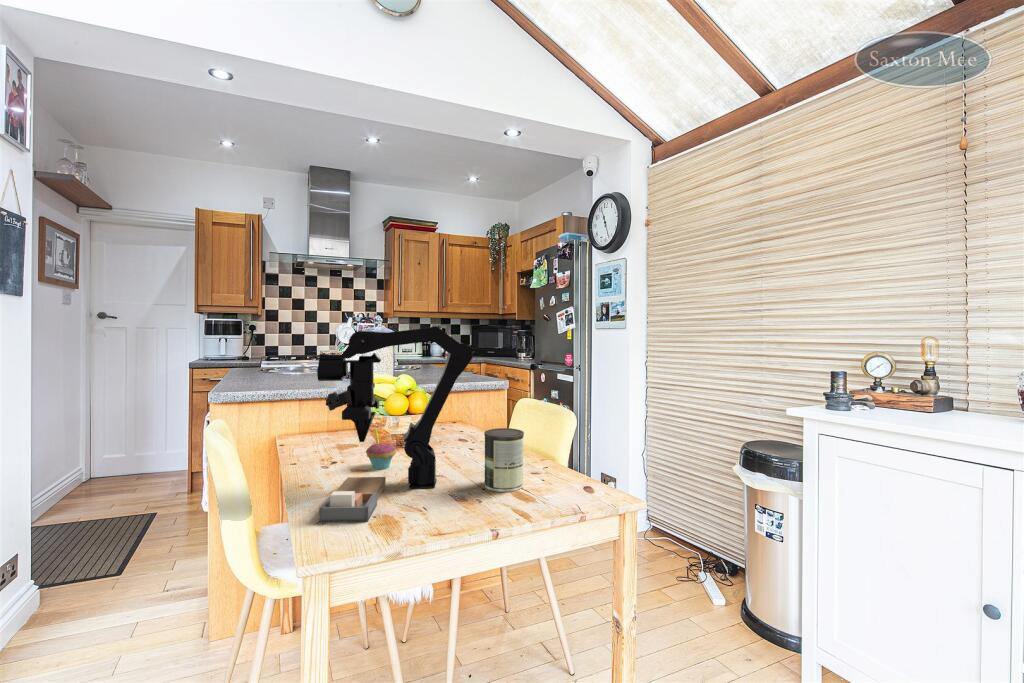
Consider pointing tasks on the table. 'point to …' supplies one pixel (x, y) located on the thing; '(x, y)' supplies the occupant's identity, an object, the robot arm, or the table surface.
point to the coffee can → (503, 459)
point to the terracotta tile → (358, 499)
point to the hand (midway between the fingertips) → (362, 441)
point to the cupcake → (380, 454)
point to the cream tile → (342, 499)
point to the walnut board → (364, 486)
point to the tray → (347, 511)
